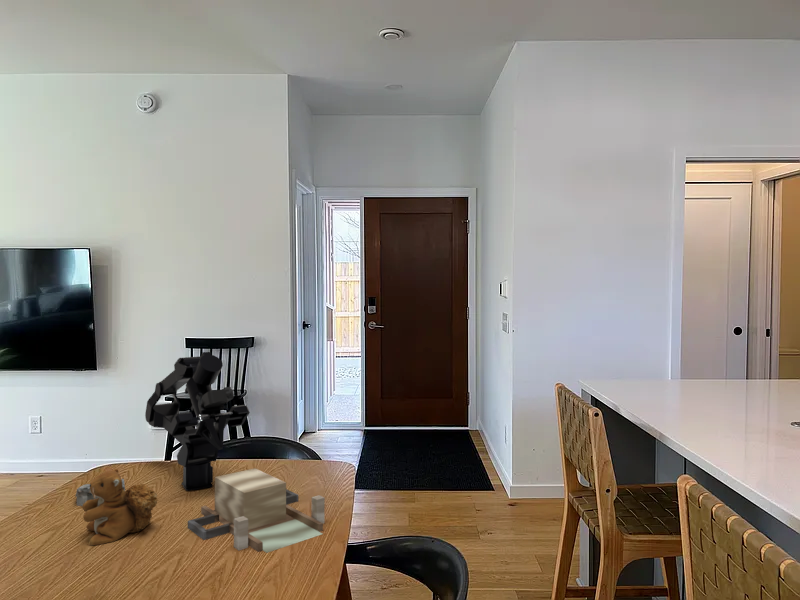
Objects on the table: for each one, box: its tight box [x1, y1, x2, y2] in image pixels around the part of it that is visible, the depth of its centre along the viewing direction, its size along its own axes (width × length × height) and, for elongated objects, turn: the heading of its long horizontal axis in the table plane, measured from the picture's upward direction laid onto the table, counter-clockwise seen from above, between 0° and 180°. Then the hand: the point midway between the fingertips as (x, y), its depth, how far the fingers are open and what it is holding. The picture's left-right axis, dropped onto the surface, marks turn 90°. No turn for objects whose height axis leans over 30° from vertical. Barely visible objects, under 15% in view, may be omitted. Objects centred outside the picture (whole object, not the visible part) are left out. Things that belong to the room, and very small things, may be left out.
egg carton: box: [74, 478, 126, 507], centre depth 137 cm, size 11×8×4 cm
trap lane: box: [187, 488, 326, 554], centre depth 122 cm, size 28×26×6 cm
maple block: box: [214, 467, 287, 530], centre depth 126 cm, size 14×10×8 cm
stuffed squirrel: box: [81, 468, 159, 546], centre depth 118 cm, size 10×14×13 cm
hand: (221, 448), depth 137 cm, fingers closed
